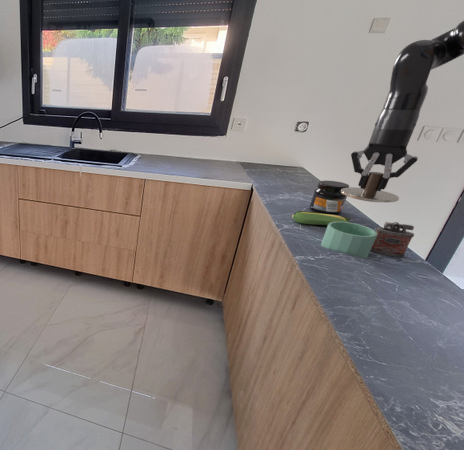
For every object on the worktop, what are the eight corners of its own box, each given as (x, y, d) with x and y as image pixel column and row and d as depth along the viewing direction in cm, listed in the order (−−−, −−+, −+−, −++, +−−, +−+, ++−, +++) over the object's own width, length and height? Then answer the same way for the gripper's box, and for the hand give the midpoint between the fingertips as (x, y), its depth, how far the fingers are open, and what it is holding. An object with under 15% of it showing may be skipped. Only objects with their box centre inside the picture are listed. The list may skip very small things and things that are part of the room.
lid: (399, 197, 90) (409, 172, 87) (394, 207, 82) (406, 181, 79) (344, 188, 98) (352, 166, 95) (335, 197, 91) (343, 173, 88)
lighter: (369, 251, 97) (381, 222, 93) (367, 247, 100) (379, 218, 96) (405, 258, 93) (419, 228, 89) (402, 253, 95) (416, 224, 91)
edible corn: (288, 219, 121) (292, 208, 120) (352, 225, 115) (356, 214, 113) (292, 224, 117) (296, 213, 115) (358, 231, 110) (363, 219, 109)
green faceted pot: (370, 250, 98) (379, 228, 95) (364, 263, 91) (374, 240, 88) (325, 238, 106) (332, 218, 103) (317, 249, 99) (324, 228, 96)
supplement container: (331, 218, 122) (341, 188, 117) (302, 209, 131) (311, 182, 126) (346, 213, 126) (357, 185, 121) (318, 205, 135) (327, 178, 130)
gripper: (434, 127, 80) (406, 191, 87) (361, 124, 89) (341, 182, 96) (433, 129, 75) (403, 197, 82) (356, 126, 85) (336, 187, 92)
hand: (370, 188), depth 89 cm, fingers closed on lid, 3 cm apart
